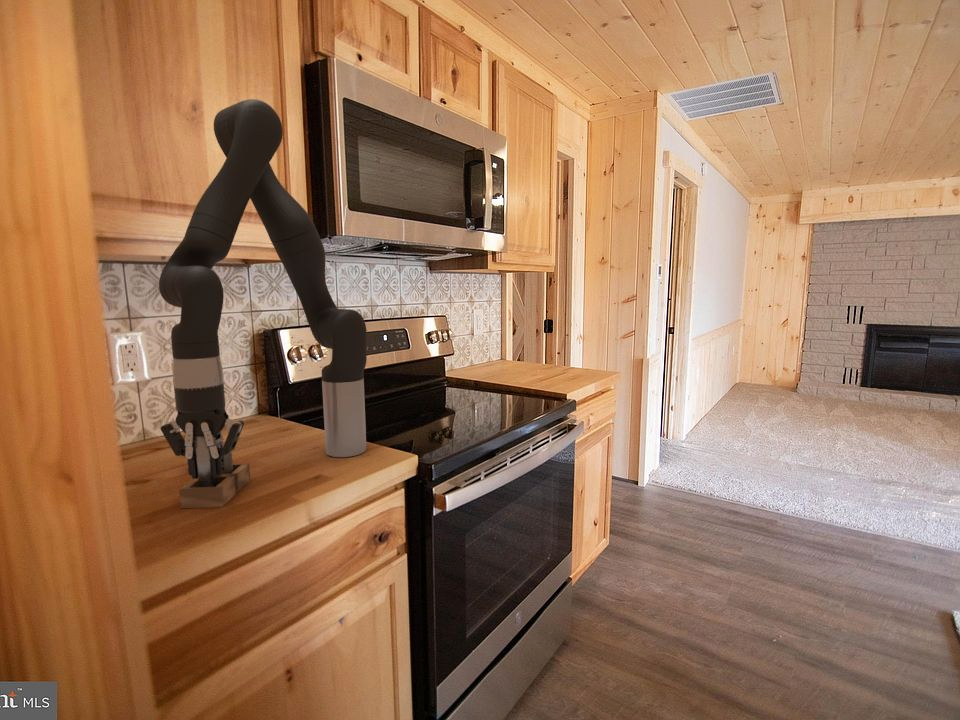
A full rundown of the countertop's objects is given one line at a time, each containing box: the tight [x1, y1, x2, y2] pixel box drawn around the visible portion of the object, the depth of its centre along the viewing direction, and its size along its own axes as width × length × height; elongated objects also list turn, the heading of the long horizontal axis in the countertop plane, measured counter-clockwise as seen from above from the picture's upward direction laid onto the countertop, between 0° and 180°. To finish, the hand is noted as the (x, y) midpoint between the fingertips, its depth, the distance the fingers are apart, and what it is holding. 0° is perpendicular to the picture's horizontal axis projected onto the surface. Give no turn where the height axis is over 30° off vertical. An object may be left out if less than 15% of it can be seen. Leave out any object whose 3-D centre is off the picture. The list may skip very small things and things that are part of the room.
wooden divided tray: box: [178, 451, 252, 509], centre depth 89 cm, size 12×7×6 cm, turn 3°
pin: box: [194, 436, 218, 487], centre depth 86 cm, size 3×3×10 cm
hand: (207, 476), depth 86 cm, fingers closed on pin, 3 cm apart
